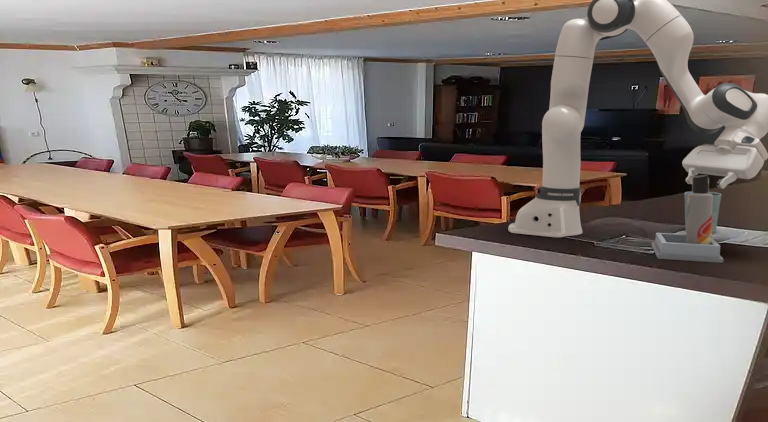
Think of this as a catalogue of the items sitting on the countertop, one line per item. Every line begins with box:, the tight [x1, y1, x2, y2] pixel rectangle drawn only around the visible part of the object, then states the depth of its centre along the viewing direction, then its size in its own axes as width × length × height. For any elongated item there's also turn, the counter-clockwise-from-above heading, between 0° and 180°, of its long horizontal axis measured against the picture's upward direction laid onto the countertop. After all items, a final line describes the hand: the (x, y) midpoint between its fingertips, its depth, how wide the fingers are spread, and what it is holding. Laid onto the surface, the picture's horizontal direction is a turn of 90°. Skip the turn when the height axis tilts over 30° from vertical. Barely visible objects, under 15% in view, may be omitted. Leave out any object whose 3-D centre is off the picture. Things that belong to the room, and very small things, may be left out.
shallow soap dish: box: [651, 232, 724, 264], centre depth 160 cm, size 15×15×4 cm
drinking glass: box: [684, 190, 722, 235], centre depth 188 cm, size 10×10×12 cm
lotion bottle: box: [685, 174, 713, 245], centre depth 156 cm, size 6×6×20 cm
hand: (703, 184), depth 158 cm, fingers open, 8 cm apart
